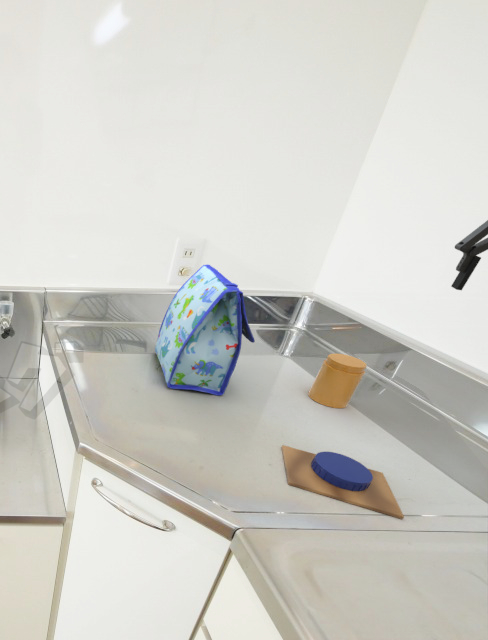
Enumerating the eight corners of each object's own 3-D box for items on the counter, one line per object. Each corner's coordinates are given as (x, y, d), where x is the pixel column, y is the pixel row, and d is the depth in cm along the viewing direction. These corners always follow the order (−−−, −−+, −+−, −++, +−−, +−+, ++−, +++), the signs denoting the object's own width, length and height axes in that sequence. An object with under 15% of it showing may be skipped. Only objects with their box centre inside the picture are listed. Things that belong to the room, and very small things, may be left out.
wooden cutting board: (381, 475, 78) (382, 472, 77) (402, 519, 68) (404, 516, 68) (281, 447, 84) (282, 444, 83) (288, 484, 74) (289, 482, 74)
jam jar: (343, 396, 103) (363, 357, 98) (350, 411, 97) (373, 371, 92) (305, 387, 106) (324, 349, 101) (310, 402, 100) (330, 362, 95)
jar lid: (300, 457, 80) (304, 449, 79) (345, 460, 80) (350, 452, 79) (330, 489, 73) (335, 481, 72) (380, 493, 73) (385, 485, 72)
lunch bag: (236, 399, 99) (279, 292, 87) (163, 390, 101) (195, 284, 89) (208, 358, 118) (240, 265, 106) (148, 351, 120) (171, 259, 108)
